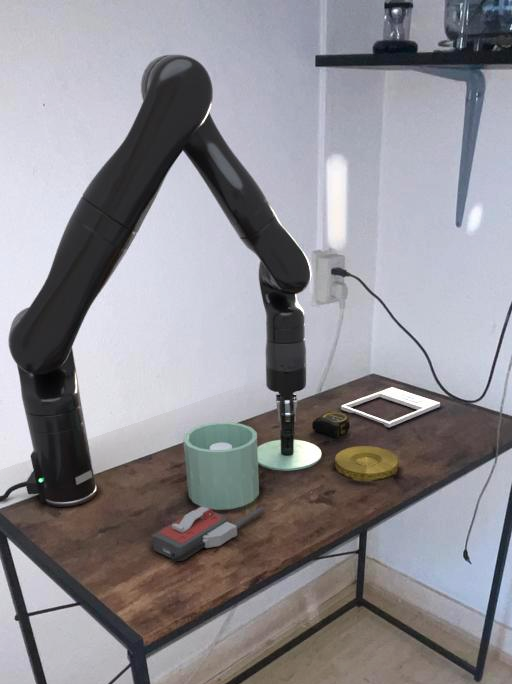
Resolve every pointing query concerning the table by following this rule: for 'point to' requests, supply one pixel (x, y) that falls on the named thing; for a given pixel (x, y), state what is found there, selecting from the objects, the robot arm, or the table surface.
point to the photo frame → (398, 397)
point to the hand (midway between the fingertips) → (287, 447)
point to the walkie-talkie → (197, 533)
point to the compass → (366, 463)
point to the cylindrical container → (222, 465)
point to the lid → (288, 455)
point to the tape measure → (331, 424)
